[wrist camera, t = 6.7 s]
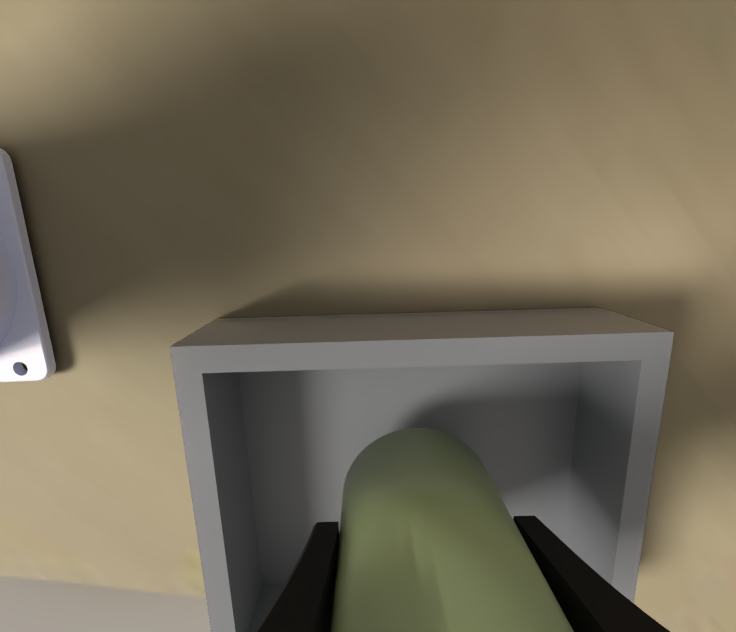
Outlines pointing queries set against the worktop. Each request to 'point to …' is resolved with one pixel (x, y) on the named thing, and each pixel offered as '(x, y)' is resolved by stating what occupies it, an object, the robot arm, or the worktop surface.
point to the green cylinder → (433, 545)
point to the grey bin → (414, 410)
